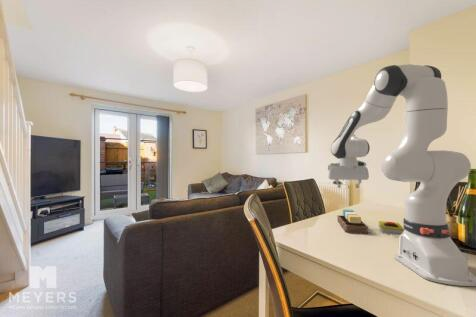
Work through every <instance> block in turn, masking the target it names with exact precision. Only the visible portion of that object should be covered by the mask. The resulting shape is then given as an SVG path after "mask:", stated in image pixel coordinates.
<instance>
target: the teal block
mask: <svg viewBox="0 0 476 317" xmlns="http://www.w3.org/2000/svg"><path fill="white" fill-rule="evenodd" d="M345 212H355V211H354V210H353V209H344V208H343V209H342V216H344V217H345Z"/></svg>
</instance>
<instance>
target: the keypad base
mask: <svg viewBox="0 0 476 317" xmlns="http://www.w3.org/2000/svg"><path fill="white" fill-rule="evenodd" d="M337 222H338V224H339V225H340V227H341V228H342V230H343V231H344V232H345V233H348V234H350V233H351V234H366V235H369V226H368V225H367V224H365V222H363V221H362V220H361V223H356V224H353V223H350V222H349V221H348V220H347V219H346V218H345V217H344V215H341V214H339V215H337Z"/></svg>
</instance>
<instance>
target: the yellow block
mask: <svg viewBox="0 0 476 317" xmlns="http://www.w3.org/2000/svg"><path fill="white" fill-rule="evenodd" d="M348 221H349V222H350V223H353V224H356V223H361V221H362V216H360V215H359V214H357V215H348Z"/></svg>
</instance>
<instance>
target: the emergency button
mask: <svg viewBox="0 0 476 317" xmlns="http://www.w3.org/2000/svg"><path fill="white" fill-rule="evenodd" d="M377 226H378V229H379V230H380V232H381V234H386V235H395V236H400V235H401V234H402V233H403V232H404V230H405V229H404V227H403V225H401V224H400V222H393V221H383V220H382V221H381V220H380V221H378V224H377Z"/></svg>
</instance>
